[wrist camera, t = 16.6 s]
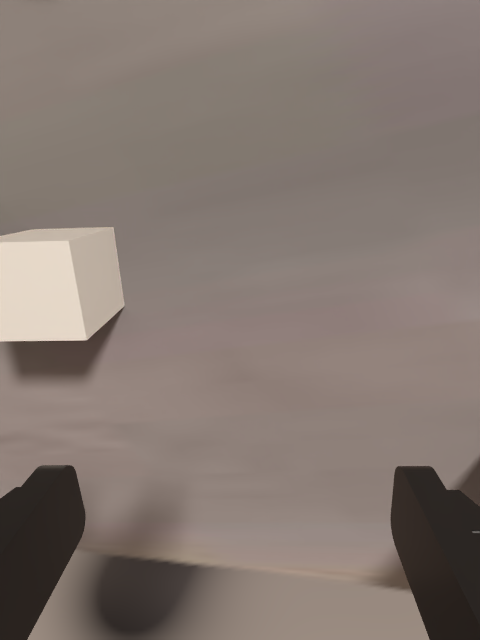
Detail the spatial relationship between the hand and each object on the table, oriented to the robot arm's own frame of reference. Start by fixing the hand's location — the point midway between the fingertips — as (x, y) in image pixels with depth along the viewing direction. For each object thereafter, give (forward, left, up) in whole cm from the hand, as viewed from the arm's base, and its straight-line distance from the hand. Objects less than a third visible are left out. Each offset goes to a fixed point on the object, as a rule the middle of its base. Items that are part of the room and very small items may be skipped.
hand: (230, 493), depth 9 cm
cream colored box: (+11, +10, -24) cm, 28 cm away
